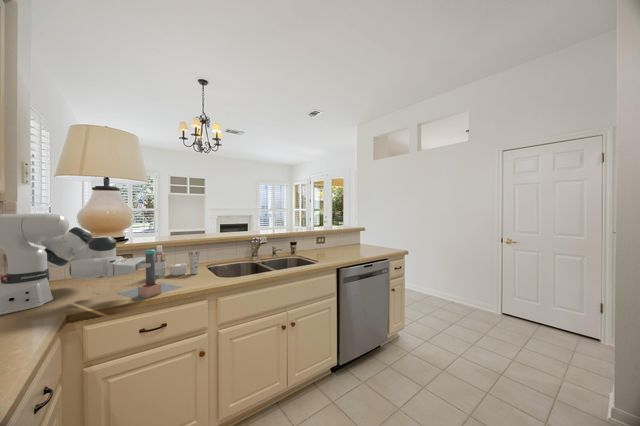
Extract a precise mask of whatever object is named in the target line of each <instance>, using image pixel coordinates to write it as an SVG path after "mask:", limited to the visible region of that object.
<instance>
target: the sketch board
mask: <svg viewBox="0 0 640 426" xmlns="http://www.w3.org/2000/svg"><path fill="white" fill-rule="evenodd" d="M157 283H159V284H161V294H160V295H162V294H164V293H168V292H170V291H174V290H178V289H180V288H182V286H181V285H175V284H171V283H166V282H161V281H159V282H157ZM117 294H118V295H121V296H124V297H128V298H132V299H134V300H139V301H143V300H146V299H148V298H152V297H155V296H156V295H154V296H151V297H148V298H145V297H141V296H138V287H137V288H132V289H128V290H125V291H121V292H118V293H117Z"/></svg>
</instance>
